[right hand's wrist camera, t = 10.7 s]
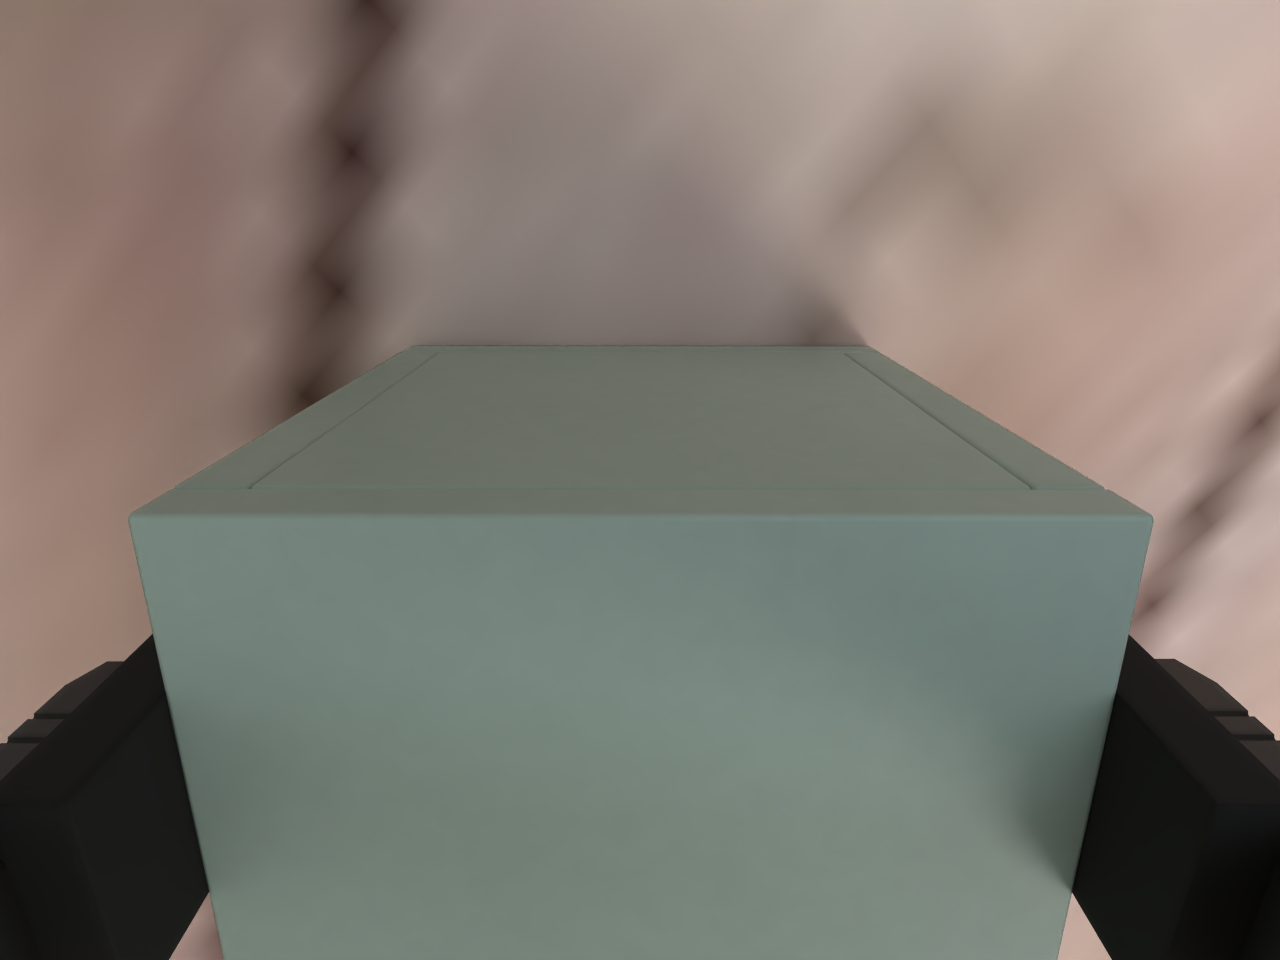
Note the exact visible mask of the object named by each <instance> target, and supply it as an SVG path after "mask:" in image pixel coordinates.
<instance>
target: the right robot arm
mask: <svg viewBox="0 0 1280 960" xmlns="http://www.w3.org/2000/svg"><path fill="white" fill-rule="evenodd" d="M208 893H209V889H208V884H207V880H206V875H205V870H204V866H203V861H202V857H201V852H200V847H199V843H198V838H197V834H196V829H195V824H194V820H193V815H192V811H191V806H190V802H189V797H188V792H187V788H186V783H185V779H184V774H183V769H182V765H181V760H180V756H179V751H178V746H177V742H176V737H175V733H174V728H173V723H172V719H171V714H170V710H169V705H168V701H167V696H166V691H165V687H164V682H163V678H162V673H161V668H160V664H159V659H158V655H157V650H156V645H155V641H154V636H153V634H152V635H151V636H150V637H149V638H148V639H147V640H146V641H145V642H144V643H143V644H142V645H141V646H140V647H139V648H138V649H137V650H135V651H134V652H133V653H132V654H131V655H130V656H129V657H128V658H127V659H126V660H125V661H124V662H106V663H104V664H102V665H100V666H99V667H97V668H95V669H93V670H92V671H90V672H88V673H86V674H84V675H83V676H81V677H79V678H77V679H76V680H74V681H72V682H70V683H69V684H67V685H65V686H64V687H63V688H62V689H61V690H60V691H58V692H57V693H56V694H55V695H54V696H53V697H52V698H51V699H50V700H49V701H47V702H46V703H45V704H44V705H43V706H42V707H41V708H40V709H39V710H37V711H36V712H35V713H34V718H33V719H28V720H26V721H25V722H24V723H23V724H22V725H21V726H20V727H19V728H18V729H17V730H15V731H14V732H13V733H12V734H11V735H10V736H9V737H8V742H7V743H1V744H0V960H169V959H170V957H171V955H172V953H173V952H174V950H175V948H176V947H177V945H178V943H179V942H180V940H181V938H182V937H183V935H184V933H185V932H186V930H187V928H188V926H189V925H190V923H191V921H192V920H193V918H194V916H195V915H196V913H197V911H198V910H199V908H200V906H201V905H202V903H203V901H204V899H205V898H206V896H207V894H208ZM1072 893H1073V895H1074V896H1075V898H1076V900H1077V901H1078V903H1079V905H1080V906H1081V908H1082V910H1083V912H1084V913H1085V915H1086V917H1087V918H1088V920H1089V922H1090V923H1091V925H1092V927H1093V928H1094V930H1095V932H1096V933H1097V935H1098V937H1099V939H1100V940H1101V942H1102V944H1103V945H1104V947H1105V949H1106V950H1107V952H1108V954H1109V955H1110V957H1111V959H1112V960H1280V741H1276V740H1275V738H1274V734H1273V733H1272V732H1271V731H1270V730H1269V729H1268V728H1266V727H1265V726H1264V725H1263V724H1262V723H1261V722H1260V721H1259V720H1258V719H1256V718H1255V717H1249V715H1248V710H1246V709H1245V708H1244V707H1243V706H1242V705H1241V704H1240V703H1239V702H1238V701H1236V700H1235V699H1234V698H1233V697H1232V696H1231V695H1230V694H1229V693H1228V692H1226V691H1225V690H1224V689H1223V688H1222V687H1221V686H1220V685H1219V684H1218V683H1216V682H1214V681H1213V680H1211V679H1209V678H1207V677H1206V676H1204V675H1202V674H1200V673H1198V672H1197V671H1195V670H1193V669H1191V668H1190V667H1188V666H1186V665H1184V664H1183V663H1181V662H1179V661H1177V660H1175V659H1154V658H1153V657H1152V656H1151V655H1150V654H1149V653H1148V652H1146V651H1145V650H1144V649H1143V648H1142V647H1141V646H1140V645H1139V644H1138V643H1137V642H1136V641H1135V640H1134V639H1133V638H1132V637H1131V636H1130V635H1128V640H1127V644H1126V649H1125V653H1124V658H1123V662H1122V667H1121V671H1120V676H1119V681H1118V685H1117V690H1116V694H1115V699H1114V703H1113V708H1112V712H1111V717H1110V721H1109V726H1108V731H1107V735H1106V740H1105V744H1104V749H1103V753H1102V758H1101V762H1100V767H1099V771H1098V776H1097V781H1096V785H1095V790H1094V794H1093V799H1092V803H1091V808H1090V812H1089V817H1088V821H1087V826H1086V831H1085V835H1084V840H1083V844H1082V849H1081V853H1080V858H1079V862H1078V867H1077V871H1076V876H1075V881H1074V885H1073V890H1072Z"/></svg>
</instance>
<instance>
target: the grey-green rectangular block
mask: <svg viewBox="0 0 1280 960" xmlns="http://www.w3.org/2000/svg"><path fill="white" fill-rule="evenodd" d="M128 521H129V526H130V531H131V535H132V540H133V544H134V549H135V554H136V558H137V563H138V567H139V572H140V577H141V581H142V586H143V590H144V595H145V599H146V604H147V609H148V613H149V618H150V622H151V627H152V632H153V636H154V641H155V645H156V650H157V655H158V659H159V664H160V668H161V673H162V678H163V682H164V687H165V691H166V696H167V701H168V705H169V710H170V714H171V719H172V723H173V728H174V733H175V737H176V742H177V746H178V751H179V756H180V760H181V765H182V769H183V774H184V779H185V783H186V788H187V792H188V797H189V802H190V806H191V811H192V815H193V820H194V824H195V829H196V834H197V838H198V843H199V847H200V852H201V857H202V861H203V866H204V870H205V875H206V880H207V884H208V889H209V893H210V898H211V903H212V907H213V912H214V916H215V921H216V925H217V930H218V935H219V939H220V944H221V948H222V953H223V958H224V960H1057V958H1058V953H1059V949H1060V944H1061V940H1062V935H1063V931H1064V926H1065V922H1066V917H1067V912H1068V908H1069V903H1070V899H1071V894H1072V890H1073V885H1074V881H1075V876H1076V871H1077V867H1078V862H1079V858H1080V853H1081V849H1082V844H1083V840H1084V835H1085V831H1086V826H1087V821H1088V817H1089V812H1090V808H1091V803H1092V799H1093V794H1094V790H1095V785H1096V781H1097V776H1098V771H1099V767H1100V762H1101V758H1102V753H1103V749H1104V744H1105V740H1106V735H1107V731H1108V726H1109V721H1110V717H1111V712H1112V708H1113V703H1114V699H1115V694H1116V690H1117V685H1118V681H1119V676H1120V671H1121V667H1122V662H1123V658H1124V653H1125V649H1126V644H1127V640H1128V635H1129V631H1130V626H1131V621H1132V617H1133V612H1134V608H1135V603H1136V599H1137V594H1138V590H1139V585H1140V581H1141V576H1142V571H1143V567H1144V562H1145V558H1146V553H1147V549H1148V544H1149V540H1150V535H1151V530H1152V526H1153V517H1152V515H1151V514H1149V513H1148V512H1146V511H1144V510H1143V509H1141V508H1139V507H1138V506H1136V505H1134V504H1133V503H1131V502H1129V501H1128V500H1126V499H1124V498H1123V497H1121V496H1119V495H1118V494H1116V493H1114V492H1112V491H1110V490H1105V489H1104V487H1102V486H1101V485H1099V484H1097V483H1096V482H1094V481H1093V480H1091V479H1089V478H1088V477H1086V476H1084V475H1083V474H1081V473H1079V472H1078V471H1076V470H1074V469H1073V468H1071V467H1069V466H1068V465H1066V464H1064V463H1063V462H1061V461H1059V460H1058V459H1056V458H1054V457H1053V456H1051V455H1049V454H1048V453H1046V452H1044V451H1043V450H1041V449H1039V448H1038V447H1036V446H1034V445H1033V444H1031V443H1029V442H1028V441H1026V440H1024V439H1023V438H1021V437H1019V436H1018V435H1016V434H1014V433H1013V432H1011V431H1009V430H1008V429H1006V428H1004V427H1003V426H1001V425H999V424H998V423H996V422H994V421H993V420H991V419H989V418H988V417H986V416H984V415H983V414H981V413H979V412H978V411H976V410H974V409H973V408H971V407H969V406H968V405H966V404H964V403H963V402H961V401H959V400H958V399H956V398H954V397H953V396H951V395H950V394H948V393H946V392H945V391H943V390H941V389H940V388H938V387H936V386H935V385H933V384H931V383H930V382H928V381H926V380H925V379H923V378H921V377H920V376H918V375H916V374H915V373H913V372H911V371H910V370H908V369H906V368H905V367H903V366H901V365H900V364H898V363H896V362H895V361H893V360H891V359H890V358H888V357H886V356H885V355H883V354H881V353H879V352H878V351H876V350H875V349H873V348H871V347H869V346H412V347H410V348H408V349H406V350H405V351H403V352H400V353H398V354H397V355H395V356H393V357H392V358H390V359H388V360H387V361H385V362H383V363H382V364H380V365H378V366H377V367H375V368H373V369H372V370H370V371H368V372H367V373H365V374H363V375H362V376H360V377H358V378H356V379H355V380H353V381H351V382H350V383H348V384H346V385H345V386H343V387H341V388H340V389H338V390H336V391H335V392H333V393H331V394H330V395H328V396H326V397H325V398H323V399H321V400H320V401H318V402H316V403H315V404H313V405H311V406H310V407H308V408H306V409H304V410H303V411H301V412H299V413H298V414H296V415H294V416H293V417H291V418H289V419H288V420H286V421H284V422H283V423H281V424H279V425H278V426H276V427H274V428H273V429H271V430H269V431H268V432H266V433H264V434H263V435H261V436H259V437H258V438H256V439H254V440H252V441H251V442H249V443H247V444H246V445H244V446H242V447H241V448H239V449H237V450H236V451H234V452H232V453H231V454H229V455H227V456H226V457H224V458H222V459H221V460H219V461H217V462H216V463H214V464H212V465H211V466H209V467H207V468H206V469H204V470H202V471H200V472H199V473H197V474H195V475H194V476H192V477H190V478H189V479H187V480H185V481H184V482H182V483H180V484H179V485H177V486H175V488H174V489H172V490H170V491H168V492H166V493H164V494H163V495H161V496H159V497H158V498H156V499H154V500H153V501H151V502H149V503H148V504H146V505H144V506H143V507H141V508H139V509H138V510H136V511H134V512H133V513H131V514H130V515H129V519H128Z"/></svg>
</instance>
